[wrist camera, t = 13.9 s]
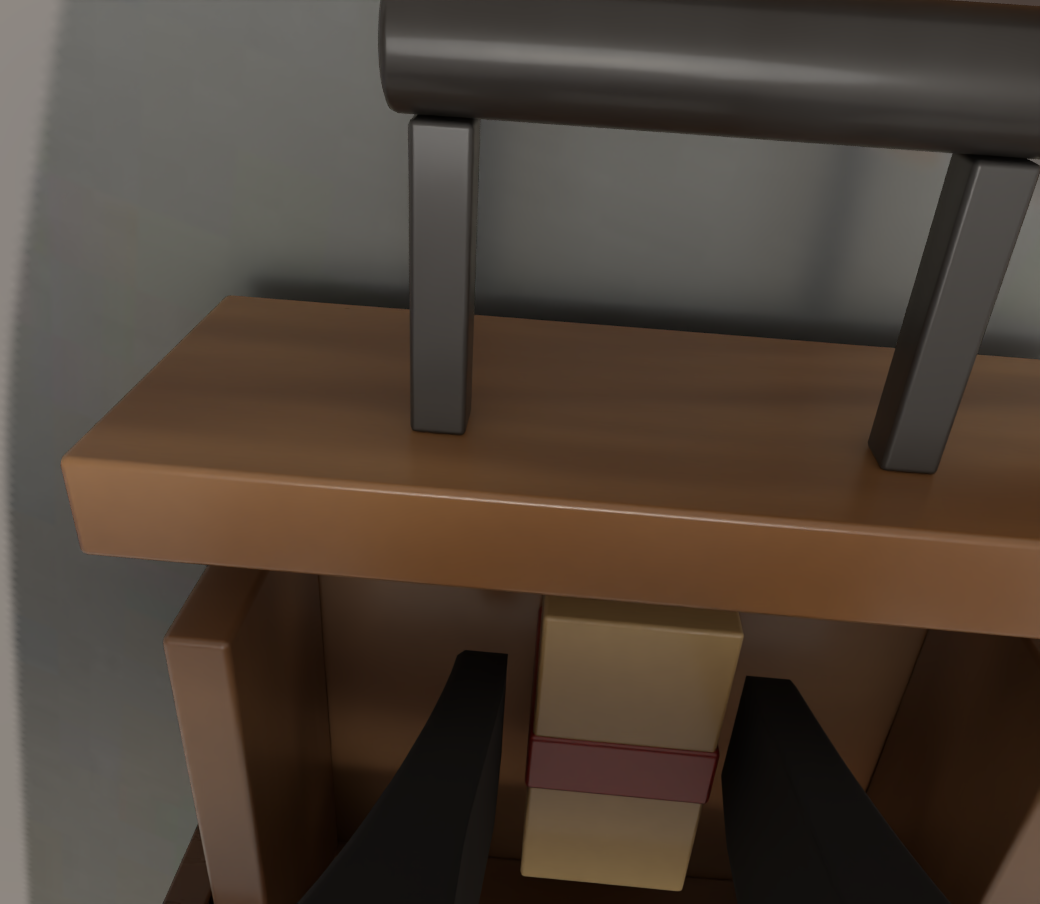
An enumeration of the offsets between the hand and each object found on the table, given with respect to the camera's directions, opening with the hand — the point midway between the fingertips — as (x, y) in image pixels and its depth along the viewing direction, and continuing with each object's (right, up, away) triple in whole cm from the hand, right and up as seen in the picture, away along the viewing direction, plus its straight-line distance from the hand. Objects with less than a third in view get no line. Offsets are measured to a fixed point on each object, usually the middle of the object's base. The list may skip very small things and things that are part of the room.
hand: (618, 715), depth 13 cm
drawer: (0, +3, +2) cm, 3 cm away
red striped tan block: (0, +1, +1) cm, 2 cm away
